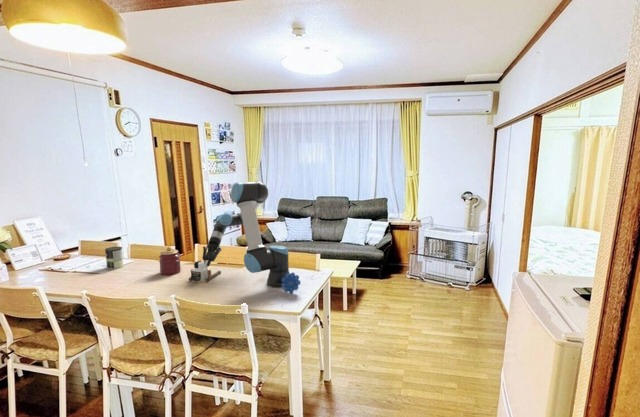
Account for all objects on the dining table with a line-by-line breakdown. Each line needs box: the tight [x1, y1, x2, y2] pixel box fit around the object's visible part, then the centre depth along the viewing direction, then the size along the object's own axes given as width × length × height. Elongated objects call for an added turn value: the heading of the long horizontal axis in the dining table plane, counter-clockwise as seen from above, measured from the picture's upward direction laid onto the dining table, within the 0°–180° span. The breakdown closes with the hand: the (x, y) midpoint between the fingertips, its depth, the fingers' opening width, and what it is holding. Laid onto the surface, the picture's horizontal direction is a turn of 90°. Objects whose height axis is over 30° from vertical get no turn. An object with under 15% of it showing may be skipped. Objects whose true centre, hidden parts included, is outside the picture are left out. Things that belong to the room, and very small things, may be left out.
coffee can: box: [104, 246, 124, 270], centre depth 238 cm, size 10×10×14 cm
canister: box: [158, 246, 182, 276], centre depth 226 cm, size 13×13×18 cm
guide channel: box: [188, 268, 222, 283], centre depth 215 cm, size 17×14×6 cm
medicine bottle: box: [190, 260, 209, 283], centre depth 210 cm, size 7×7×12 cm
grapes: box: [280, 272, 301, 294], centre depth 189 cm, size 12×7×12 cm, turn 74°
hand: (204, 270), depth 215 cm, fingers closed
